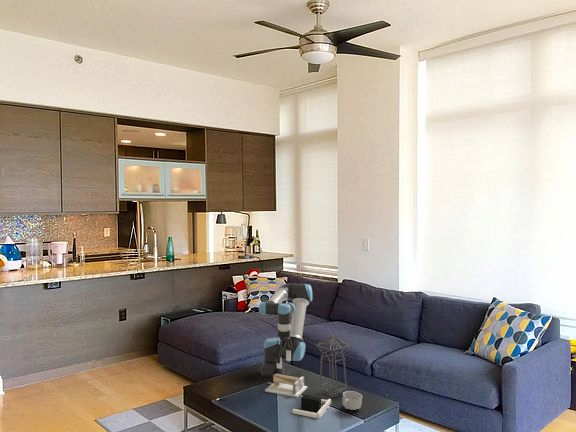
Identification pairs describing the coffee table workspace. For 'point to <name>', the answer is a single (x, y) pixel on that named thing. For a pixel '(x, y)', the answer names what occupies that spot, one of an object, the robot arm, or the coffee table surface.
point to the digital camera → (310, 403)
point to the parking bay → (314, 415)
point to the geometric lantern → (332, 361)
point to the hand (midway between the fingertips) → (283, 364)
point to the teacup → (352, 400)
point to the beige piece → (289, 382)
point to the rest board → (285, 390)
